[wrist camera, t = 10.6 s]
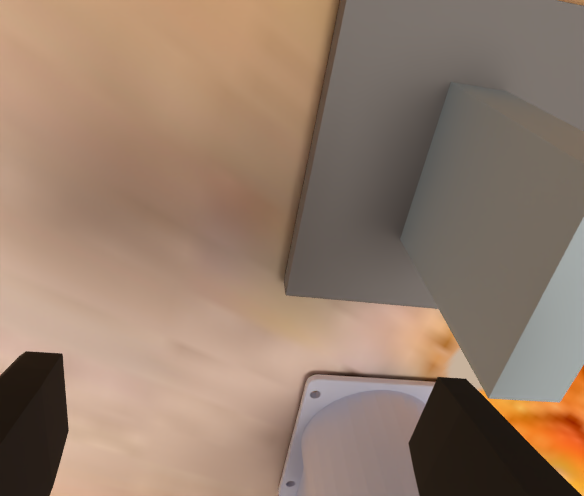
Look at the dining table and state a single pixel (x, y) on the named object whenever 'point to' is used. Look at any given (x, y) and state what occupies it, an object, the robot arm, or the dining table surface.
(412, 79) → the rubber mat
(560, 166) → the grey rectangular block
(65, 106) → the dining table surface
